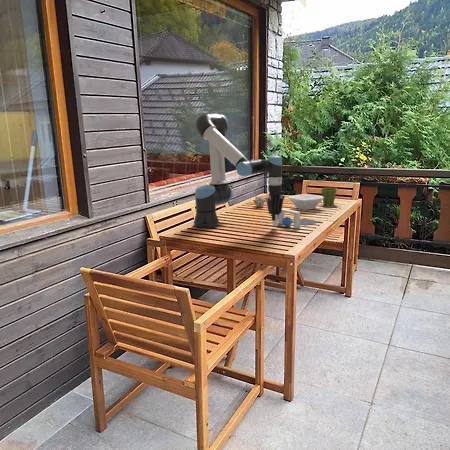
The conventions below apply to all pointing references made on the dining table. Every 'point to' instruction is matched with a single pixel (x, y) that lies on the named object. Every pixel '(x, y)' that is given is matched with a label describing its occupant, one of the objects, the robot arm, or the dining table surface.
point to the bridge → (296, 213)
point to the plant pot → (328, 195)
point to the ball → (287, 221)
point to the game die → (259, 201)
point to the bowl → (306, 201)
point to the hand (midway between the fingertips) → (275, 225)
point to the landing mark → (307, 221)
